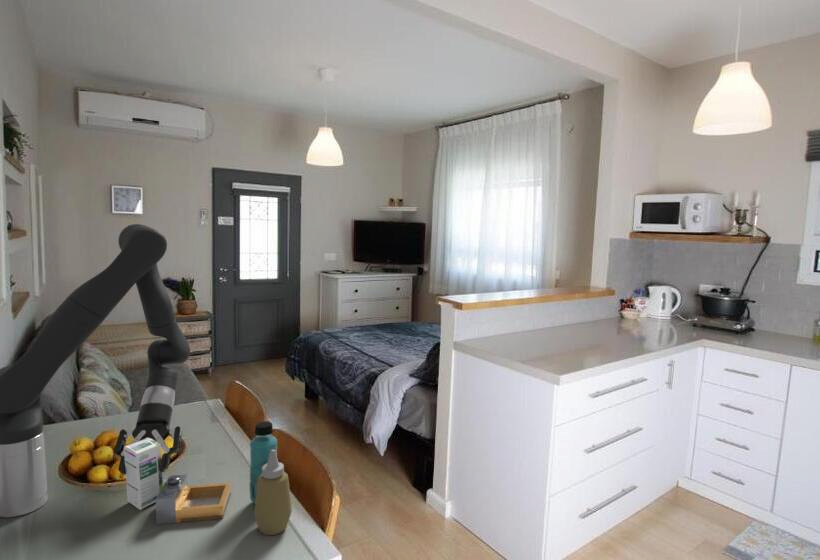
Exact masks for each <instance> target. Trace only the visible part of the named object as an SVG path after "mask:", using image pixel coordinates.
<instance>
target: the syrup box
mask: <svg viewBox="0 0 820 560" xmlns="http://www.w3.org/2000/svg"><path fill="white" fill-rule="evenodd" d="M123 451H124V457H125V470H126V475H125V480H126V495H127V496H126V497H127V501H128V503H130V504H131V505H132V506H134V508H136V509H137V510H139V511H142V510H143V509H145V508H147V507H148V506H151V505H152V504H156V498H157V496H158V494H159V493H160V491H161V489H162V488H163V486H164V483H163V472H161V471H160V465H161V460H162V448H161V445H160V444H159V443H158V442H156V441H155V440H153V439H151V438H148V437H147V438H145V439H143V440H141V441H138V442H136V443H133V444H131V445H129V444H128V445H125V447H124V450H123Z"/></svg>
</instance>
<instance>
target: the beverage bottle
mask: <svg viewBox="0 0 820 560" xmlns="http://www.w3.org/2000/svg"><path fill="white" fill-rule="evenodd" d="M254 427H255V428H254V434H255V435H256V436H255V437H253V439H251V441H250V443H249V446H250V453H249V454H250V464H249V465H250V469H249V476H250V477H249V498H250V501H251V503H253V504H255V501H256V491H257V481H258V478H259V476H260V475H262V467H263V465H265V464H266V463H268V458H269V454H270V450H276V454H277V455H278V438H276V436H274V435H272V434H273V432H274V428H273V422H271V421H266V420H265V421H259V422H257V423H256V424H255V426H254ZM277 458H278V456H277Z"/></svg>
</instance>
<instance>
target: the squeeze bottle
mask: <svg viewBox="0 0 820 560" xmlns="http://www.w3.org/2000/svg"><path fill="white" fill-rule="evenodd" d="M277 457H278V453H277V454H276V450H270V454H269V458H268V463H266V464H265V465H263V467H262V475H260V476H259V478H258V481H257V491H256V501H255V503H254V504H255V505H254V512H253V513H254V514H253V515H254V520H255V522H256V524H257V527H258V530H259V532H260V533H262V534H263V535H265V536H274V535H279V534H281V533H283V531H285V530H286V529H287V526H288V523H289V520H290V518H291V515H292V511H293V510H292V509H293V507H292V500H291V499H292V498H291V489H290V482H289V475H288V473H287V472H285V465H284V463H282V462H279V460H278V458H277Z"/></svg>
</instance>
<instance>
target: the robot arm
mask: <svg viewBox="0 0 820 560" xmlns="http://www.w3.org/2000/svg"><path fill="white" fill-rule="evenodd" d="M118 247H119V249H120V252H119V253H118V255H117V256H116V257H115V258H114V260H113V261H112V262H110V264H109V265H108V266H107V267H106V268H105V269H103V270H102V271H101V272H99V273H98V274H96V275H94V276H93V277H91V278H90V279H88V280H86V281H85V282H83V284H81V285H80V286H78V287H76V289H74V290H73V291H72V292H71V293H70V294H69V295H68V296H67V297H66V298H65V299H64V300H63V301H62V302H61V304H59V306H58V307H57V308H56V309H55V311H54V312H53V313H52V315H50V317H49V318H48V320H47V321H46V323H45V324H44V326H43V327H42V328H41V330H40V332H39V333H38V335H37V336H36V339H35V340H34V341H33V343H32V344H31V345H30V347H29V348H28V349H27V350H26V351H25V353H24V354H23V355H22V356H21V357H20V358H18V360H17V361H15V363H13V364H10V365H9V364H8V365H6V366H4V367H2V368H0V517H1V518H15V517H20V516H23V515H27V514H29V513H33V512H34V511H36V510H38V509H40V508H41V507H43V506H44V505H45V504H46V503H47V501H48V488H47V483H48V482H47V470H46V454H45V438H44V423H43V409H42V407H43V406H42V392H43V391H44V390H45V388H46V387H47V385H48V384H49V382H50V381H51V380H52V378H53V377H54V375H55V374H56V373H57V371H58V370H59V369H60V367H62V365H64V363H65V362H66V361H67V360H68V359H69V358H70V356H72V355H73V354H74V353H75V352H76V351H77V350H78V349H79V348H80V347H81V346H82V345H83V344H84V342H85V341H87V339H89V338H90V336H91V335H92V334H93V333H95V331H96V330H97V329H98V328H99V327H100V325H102V323H103V322H104V321H105V320H106V318H107V317H108V316H109V315H110V314H111V312H112V311H113V310H114V309H115V308H116V306H117V305H118V304H119V303H120V302H121V301H122V300H123V299H124V297H126V296H127V294H128V292H129V291H130V290H131V289H132V287H134V285H136V288H137V292H138V295H139V298H140V303H141V306H142V309H143V310H142V311H143V314H144V318H145V321H146V325H147V330H148V332H149V334H151V336H154V337H155V336H156V337H161V338H164V339H156V340H154V341H152V342H151V343H150V345H148V347H147V351H146V353H147V362H148V363H147V364H148V378H147V383H146V387H145V391H144V393H143V396H142V399H141V403H140V407H139V411H138V416H137V419H136V424H135V428H134V429H133V430H126V429H124V428H123V429H121V430H120V431H119V433H118V436H117V439H116V443H115V446H114V447H113V448H114V449H113V454H114V455H115V456H116V457H117V458H120V460H119V464H118V467H117V469H118V471H119V473H120V474H121V475H122V476H126V470H125V457H124V447H125V446H126V445H127V444H126V443H127V441H129V440H130V438H131V437H133V439H132V441H130V442H129V444H128V445H131V444H133V443H136V442H138V441H141V440H143V439H145V438H147V437H148V438H151V439H153V440H155V441H156V442H158V443H159V444H160V445H161V450H162V451H163V452H164V453H162V454H161V465H160V471H161V472H162V473H165V472H166V470H168V469H169V467H170V461H171V456H172V455H175V454H179V453H180V452H181V446H182V438H183V437H182V436H183V430H182V428H181V427H180V426H175V427H174V428H170V425H171V421H172V416H173V415H172V414H173V409H174V406H175V399H176V398H175V396H176V390H177V384H178V379H179V375H178V372H177V371H176V370H175V369H174V368H171V367H165V366H166V365H177V364H183V363H186V361H188V359H189V358H190V354H191V347H190V344H189V342H188V339H187V338H186V337H185V335H184V333H183V332H182V330H181V328H180V326H179V325H178V322H177V319H176V315H175V310H174V307H173V302H172V300H171V296H170V295H169V293H168V291H167V289H166V286H165V284H164V282H163V280H162V277H161V274H160V271H159V269H158V263H159V261H160V260H161V259H163V258H164V255H166V252H167V249H168V242H167V239H166V237H165V234H163V233H162V232H161V231H159V230H158V229H155V228H152V227H150V226H147V225H145V224H141V223H132V224H129V225H127V226H125V227H124V228H123V229H122V230H121V232H120V233H119V235H118ZM170 435H171V436H172V438H173V443H172V447H169V446H168V445H167V443H166V441H165V440H166V439H167V438H168V437H169V436H170Z"/></svg>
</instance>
